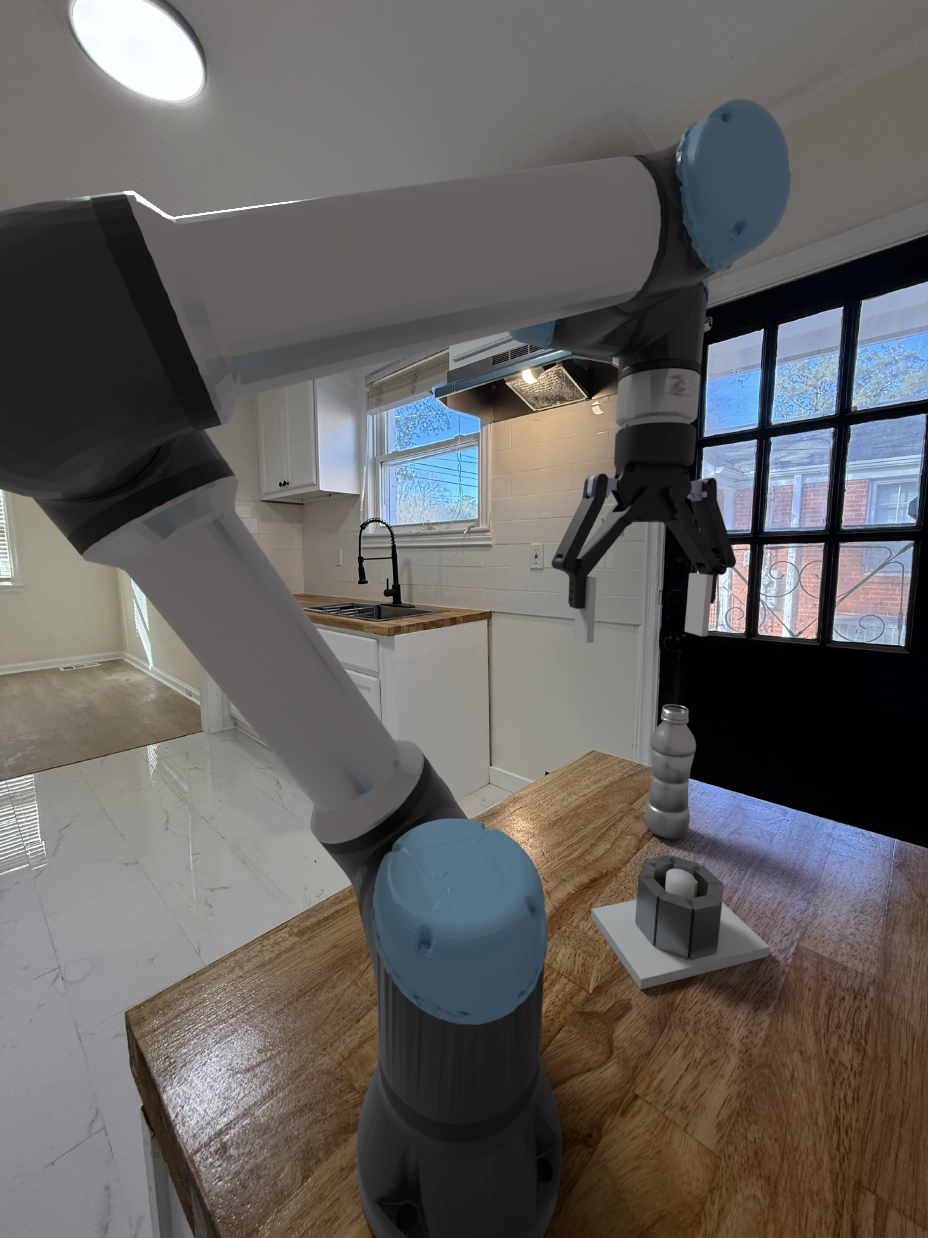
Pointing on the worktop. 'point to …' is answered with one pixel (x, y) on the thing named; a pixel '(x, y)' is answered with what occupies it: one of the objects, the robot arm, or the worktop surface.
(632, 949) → the shaft stand
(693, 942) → the ring
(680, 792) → the plastic bottle
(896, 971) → the worktop surface
